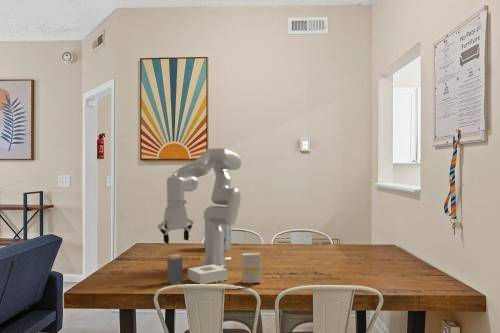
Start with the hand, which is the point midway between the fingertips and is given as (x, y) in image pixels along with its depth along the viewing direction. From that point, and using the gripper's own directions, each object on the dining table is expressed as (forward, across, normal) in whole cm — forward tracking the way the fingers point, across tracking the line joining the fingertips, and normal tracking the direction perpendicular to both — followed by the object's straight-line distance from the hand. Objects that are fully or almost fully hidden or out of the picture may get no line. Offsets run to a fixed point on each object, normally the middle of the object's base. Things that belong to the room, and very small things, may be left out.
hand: (176, 241), depth 183 cm
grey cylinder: (+18, +2, +1) cm, 18 cm away
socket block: (+19, -12, +6) cm, 23 cm away
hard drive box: (+22, -53, -51) cm, 77 cm away
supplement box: (+19, -26, +21) cm, 39 cm away
